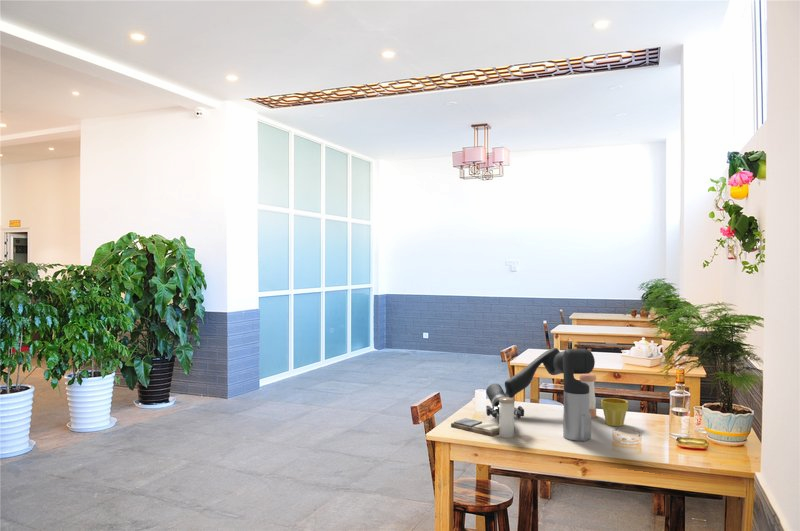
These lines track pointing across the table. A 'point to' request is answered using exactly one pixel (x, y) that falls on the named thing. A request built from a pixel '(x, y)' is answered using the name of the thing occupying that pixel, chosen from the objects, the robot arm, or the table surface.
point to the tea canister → (506, 417)
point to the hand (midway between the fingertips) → (507, 415)
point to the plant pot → (614, 411)
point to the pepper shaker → (590, 391)
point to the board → (476, 426)
